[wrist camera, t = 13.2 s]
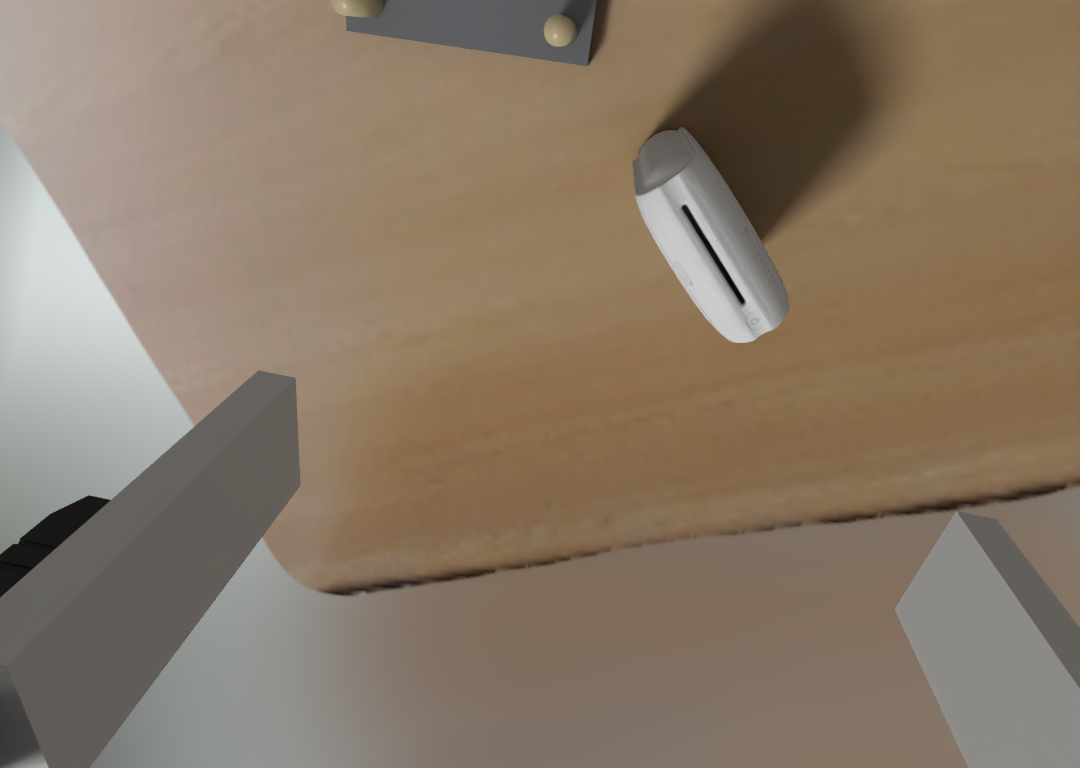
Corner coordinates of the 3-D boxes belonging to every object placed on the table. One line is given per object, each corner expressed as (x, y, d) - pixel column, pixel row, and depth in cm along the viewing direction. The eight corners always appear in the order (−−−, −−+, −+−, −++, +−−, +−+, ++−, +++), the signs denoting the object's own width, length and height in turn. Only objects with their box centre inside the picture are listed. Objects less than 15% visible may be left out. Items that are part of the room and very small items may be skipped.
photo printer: (764, 252, 41) (814, 328, 30) (705, 287, 42) (732, 372, 31) (683, 112, 37) (706, 141, 27) (622, 156, 39) (620, 200, 28)
